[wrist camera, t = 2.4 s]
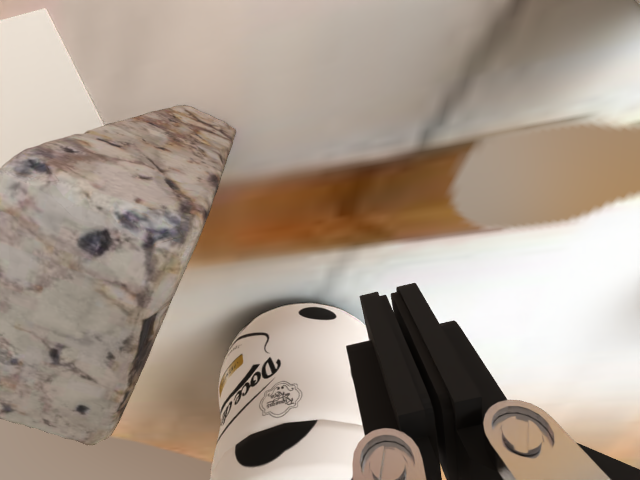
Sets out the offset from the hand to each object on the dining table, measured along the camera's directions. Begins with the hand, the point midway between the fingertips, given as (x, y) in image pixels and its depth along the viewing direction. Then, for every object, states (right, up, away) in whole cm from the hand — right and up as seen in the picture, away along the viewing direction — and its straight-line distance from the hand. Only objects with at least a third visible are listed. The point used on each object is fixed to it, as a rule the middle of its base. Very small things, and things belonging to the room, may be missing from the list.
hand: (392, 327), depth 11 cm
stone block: (-14, +8, +20) cm, 26 cm away
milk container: (-4, -10, +31) cm, 33 cm away
